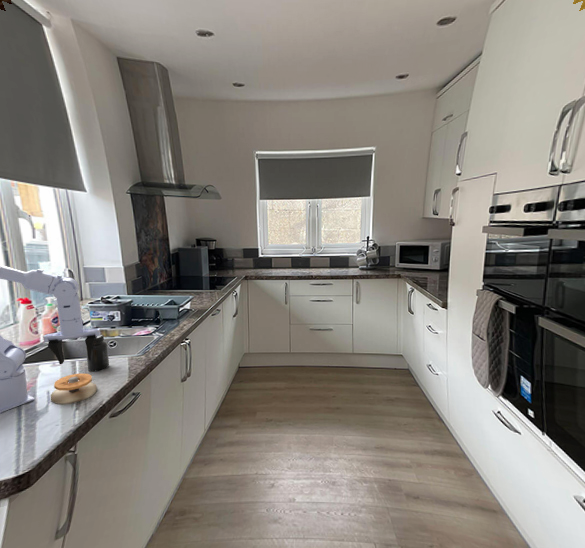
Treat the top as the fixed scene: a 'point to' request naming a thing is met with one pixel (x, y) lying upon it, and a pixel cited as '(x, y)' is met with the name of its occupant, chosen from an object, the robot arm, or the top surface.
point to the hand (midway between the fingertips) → (76, 360)
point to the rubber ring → (64, 385)
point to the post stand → (73, 393)
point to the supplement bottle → (98, 355)
